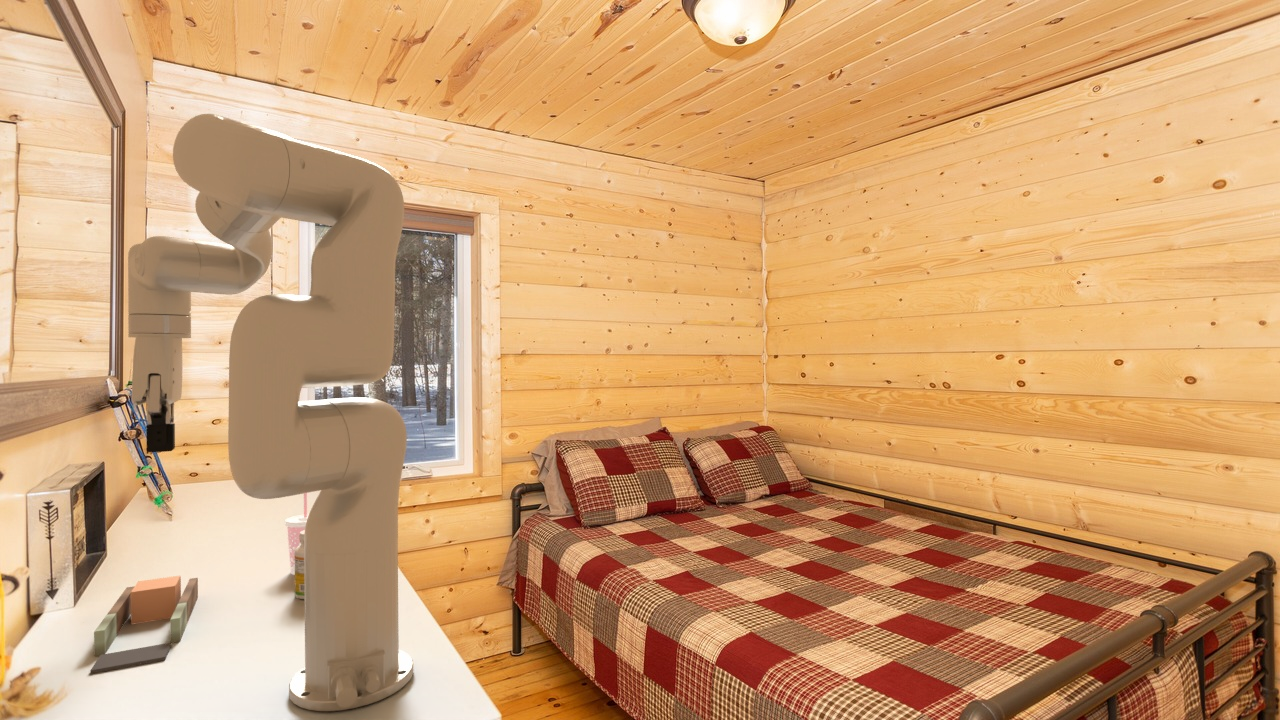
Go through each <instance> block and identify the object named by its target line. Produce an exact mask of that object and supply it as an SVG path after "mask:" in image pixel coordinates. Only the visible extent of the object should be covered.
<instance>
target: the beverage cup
mask: <svg viewBox="0 0 1280 720" xmlns="http://www.w3.org/2000/svg"><path fill="white" fill-rule="evenodd" d="M307 495H308V493H304V494H303V514H300V515H299V514H298V515H294V516H291V517H288V518H286V519H285V520H284V523H285V526H286V530H287V532H286V533H287V542H288V553H289V555H288V556H289V566H290V568H289V569H290V573H291V575H294V576H295V549H296V548H297V547H298V546H299V545H301V542H300V540H299V536H300V532H301V531H303V530H305V526H306V522H307V519H308V516H309V513H308V496H307Z"/></svg>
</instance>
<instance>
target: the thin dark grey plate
mask: <svg viewBox="0 0 1280 720" xmlns="http://www.w3.org/2000/svg"><path fill="white" fill-rule="evenodd" d="M171 648H172V643H171V642H167V643H161V644H156V645H155V644H154V645H149V646H144V647H139V648H132V649H127V650H121V651H120V650H119V651H114V652H108V653H105V654H102V655H99V656H98V658H97V660H96V661H95V663H94V665H93V666H92V667H91V668H90V670H89V671H90V673H89V674H90V675H91V674H97V673H102V672H109V671H114V670H119V669H123V668H124V669H125V668H130V667H135V666H140V665H141V666H142V665H147V664H152V663H156V662H162V661H165V660H166V659H167V657H168V654H169V652H170V649H171Z"/></svg>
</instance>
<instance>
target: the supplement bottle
mask: <svg viewBox="0 0 1280 720" xmlns="http://www.w3.org/2000/svg"><path fill="white" fill-rule="evenodd" d="M304 534H305V530H303V531H301V532H300V536H299V540H300V542H301V545H299V546H298V547H297V548H296V549H295V575H294V595H295V598H297V599H300V600H305V593H304Z"/></svg>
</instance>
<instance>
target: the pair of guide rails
mask: <svg viewBox="0 0 1280 720" xmlns="http://www.w3.org/2000/svg"><path fill="white" fill-rule="evenodd" d="M198 579H199V578H198V577H193V578H189V580H188V581H187V584H186V586H185V588H184V590H183V591H182V593H181V598H180V600H179V602H178V605H177V607H176V609H175V611H174V613H173V615H172V617H171V618H169V620H170V623H169V624H170V643H171V644H172V643H178V642H181V640H182V638H183V636H184V632H185V630H186V628H187V625H188V623H189V620H190V618H191V615H192V613H193V610H194V609H195V605H196V603H197V600H198V597H199V584H198V582H199V581H198ZM134 587H135V585H134V586H127V587H126V588H125V589H124V590H123V592H122V594H120V596H119V597H118V599H117V600H116V601H115V602H114V604H113V605H112V606H111V608H110V609H109V611H108V612H107V614H106V615H105V616H104V618H103V619H102V621H101V622H100V623H99V625H98V626H97V627H96V629H95V630H94V632H93V641H94V642H93V644H94V645H93V646H94V648H93V649H94V652H93V653H94V655H93V656H94V657H100V655H102V654H107V652H108V650H109V649H110V647H111V646H112V644H113V642H114V641H115V639H116V638H117V637H118V635H119V633H120V632H121V630H122V628H123V627H124V625H125V623H126V622H127V621H128V619H129V617H131V591H132V590H133V588H134Z"/></svg>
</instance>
